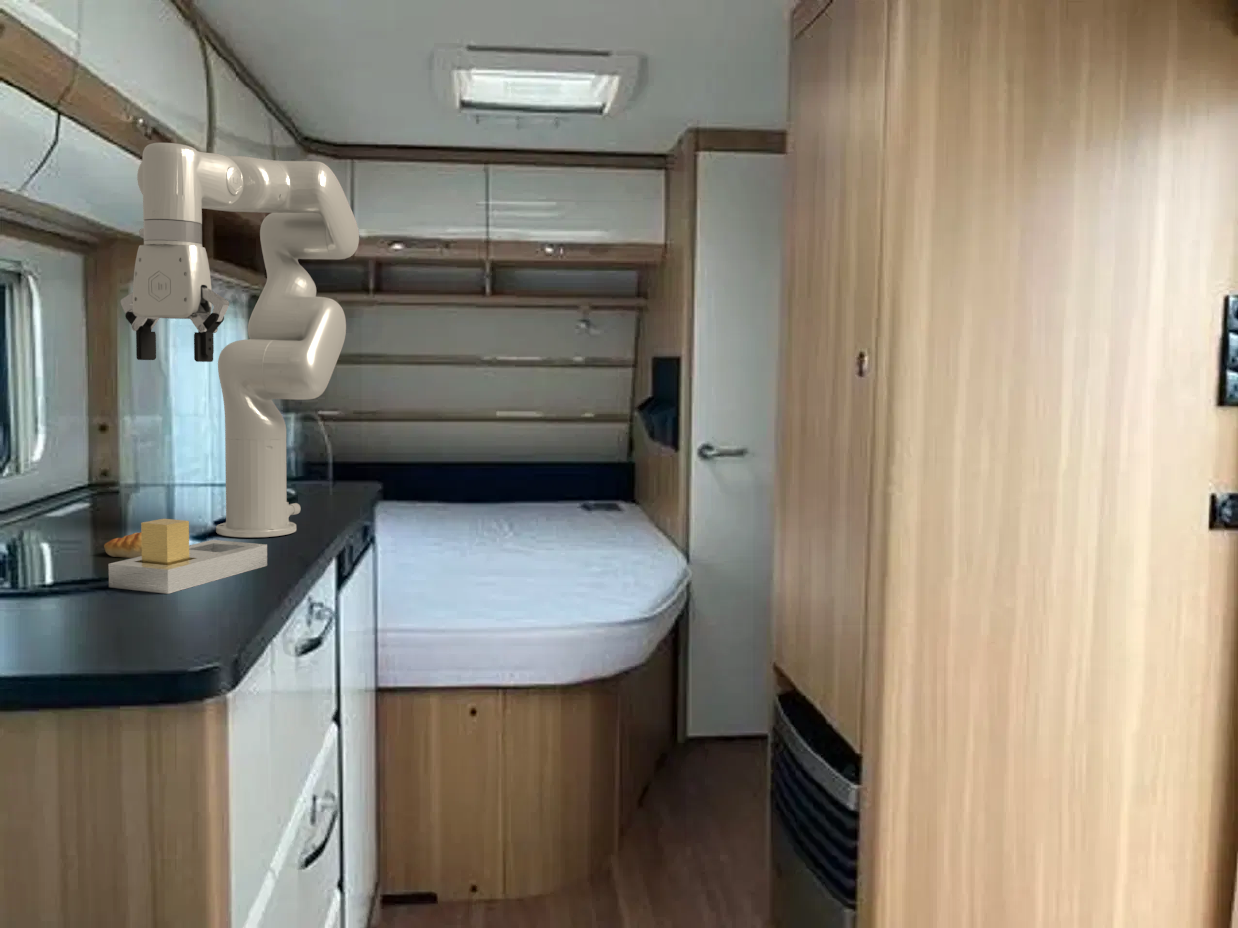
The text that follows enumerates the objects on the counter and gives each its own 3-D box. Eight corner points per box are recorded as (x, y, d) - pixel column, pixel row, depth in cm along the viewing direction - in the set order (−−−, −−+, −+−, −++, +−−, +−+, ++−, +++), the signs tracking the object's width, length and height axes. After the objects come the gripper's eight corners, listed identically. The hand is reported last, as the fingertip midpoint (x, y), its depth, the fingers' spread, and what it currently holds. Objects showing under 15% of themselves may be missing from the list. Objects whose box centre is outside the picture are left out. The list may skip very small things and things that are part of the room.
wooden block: (164, 579, 145) (163, 518, 144) (189, 581, 144) (188, 520, 143) (142, 584, 141) (141, 522, 140) (167, 587, 140) (166, 524, 139)
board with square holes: (213, 560, 158) (213, 539, 158) (267, 565, 155) (267, 544, 155) (108, 587, 139) (108, 563, 139) (168, 593, 136) (167, 569, 136)
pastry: (98, 560, 157) (98, 533, 157) (112, 552, 164) (111, 526, 164) (168, 560, 159) (168, 533, 158) (178, 552, 165) (178, 526, 165)
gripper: (102, 234, 152) (104, 359, 154) (207, 233, 147) (208, 362, 148) (141, 240, 159) (143, 359, 161) (243, 239, 154) (244, 362, 156)
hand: (174, 360), depth 155 cm, fingers open, 9 cm apart
